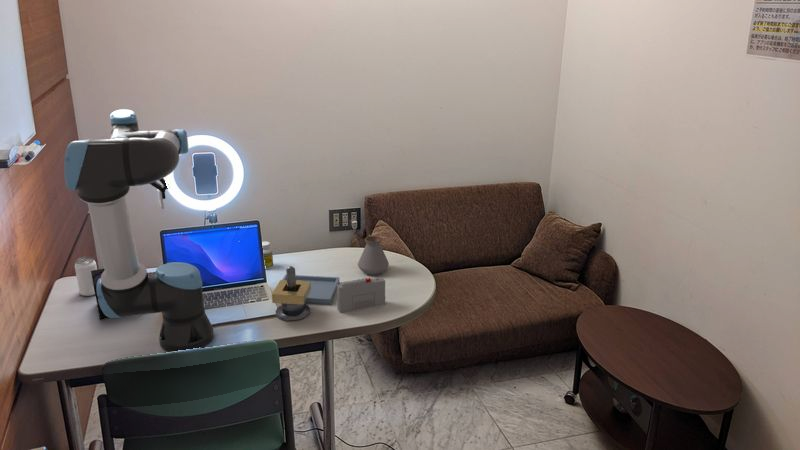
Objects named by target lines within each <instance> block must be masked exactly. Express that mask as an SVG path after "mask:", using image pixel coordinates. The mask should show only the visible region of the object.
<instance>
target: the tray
mask: <svg viewBox="0 0 800 450" xmlns="http://www.w3.org/2000/svg"><path fill="white" fill-rule="evenodd" d="M281 280H287V275H286V274H284V276H283V278H282V279H281ZM296 280H302V281H309V282H311V291H310V293H309V295H308V297H307V299H306V301H305V303H304V304H311V305H313V304H314V305H329V306H330V305H332V304H331V303H332V302H333V299H334V296H335V294H336V293H337V285H338V284H340V277H339V276H322V275H321V276H319V275H317V276H316V275H303V274H302V275H301V274H296Z"/></svg>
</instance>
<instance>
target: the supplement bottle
mask: <svg viewBox="0 0 800 450" xmlns="http://www.w3.org/2000/svg"><path fill="white" fill-rule="evenodd" d="M261 242H262V248H263V255H264V260H265V266H266V269H265V270H270V269H272V268H273V267H274V257H273V256H274V255H273V248H272V247H271V244H270V242H269V241H261Z"/></svg>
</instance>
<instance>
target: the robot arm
mask: <svg viewBox="0 0 800 450" xmlns="http://www.w3.org/2000/svg"><path fill="white" fill-rule="evenodd" d="M109 118H110V122H109V123H110V125H111V132H110V138H108V139H107V138H105V139H104V138H103V139H101V138H100V139H89V138H87V139H84V140H83V139H82V140H74V141H71V142H70V143H69V144H68V145H67V146H66V149H65V153H64V154H65V155H64V164H63V165H64V181H65V182H64V183H65V187H66V188H67V190H69V191H72V192H75V191H76V193H77V196H78V198H79V200H81V201H82V202H84V203H86V204H87V208H88V211H89V214H90V219H91V223H92V225H93V231H94V234H95V237H96V241H97V242H96V243H97V246H98V249H99V252H100V257H101V260H102V265H103V269H105V271H104V272H103V273H102V275H101V278H100V279H99V280H98V281H97V296H98V302H99V305H100V308H101V310H102V311H103V313H104V314H105V315H106V316H107V317H110V318H109V319H116V318H117V319H118V318H119V319H123V318H127V317H135V316H143V315H151V314H157V313H158V314H160V313H162V322H161V327H160V331H159V335H158V337H159V344H160V347H161V348H162V349H163V350H165V351H167V352H169V351H178V350H186V349H193V348H199V347H202V348H204V347H206V346H207V345H208V344H210V343H211V342H212V341H213V339H214V337H215V334H214V333H215V332H214V327H213V325H212V323H211V321H210V319H209V317H208V315H207V314H206V309H205V301H204V294H203V293H204V292H203V280H202V277H201V272H200V270H199V269H198V268H197V267H196V266H195V265H193V264H191V263H187V262H182V261H181V262H180V261H177V262H175V261H173V262H172V261H171V262H167V263H165V264H164V263H163V264H159V266H158V267H156V269H155V271H149V272H148V270H147V268H146V266H145V265H144V264H143V263H141V262H139V261H140V260H139V258H138V252H137V246H136V242H135V237H134V234H133V229H132V224H131V219H130V215H129V210H128V206H127V201H126V196H127V195H128V194H129V192H130V187H138V186H145V185H148V184H149V185H151V186H152V187H154V188H155V189H157V196H158V197H157V198H158V202H159V206H160V208H161V210H164V209H165V205H164V200H165V199H166V190H169V189H168V188H167V186H166V183H165V181H166V180H165V178H166V177H168V176H169V175H170V174H172V173H174V171H175V170H176V169H177V166H178V164H179V160H180V155H183V154H187V153H188V152H189V141H188V134H187V131H186V130H185V129H176V128H174V129H160V130H139V129H140V128H139V124H138V122H139V121H138V118H137V114H136V113H135V112H134V111H133V110H132V109H131V110H130V109H117V110H114V111H113V112H111V113H110V115H109ZM157 181H159V182H160V183H161V184H162V185H161V184H160V183H159V182H157Z"/></svg>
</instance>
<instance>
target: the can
mask: <svg viewBox="0 0 800 450" xmlns="http://www.w3.org/2000/svg"><path fill="white" fill-rule="evenodd" d="M74 263H75V264H74V270H75V275H76V281H77V286H78V290H79V293H80V295H81V296H83V297H90V296H94V295H95V291H94V286H93V280H92V274H91V271H93V270H98V267H97V262H96V261H95V258H94V257H92V256H83V257H80V258H77V259H76V260H75V262H74Z"/></svg>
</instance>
